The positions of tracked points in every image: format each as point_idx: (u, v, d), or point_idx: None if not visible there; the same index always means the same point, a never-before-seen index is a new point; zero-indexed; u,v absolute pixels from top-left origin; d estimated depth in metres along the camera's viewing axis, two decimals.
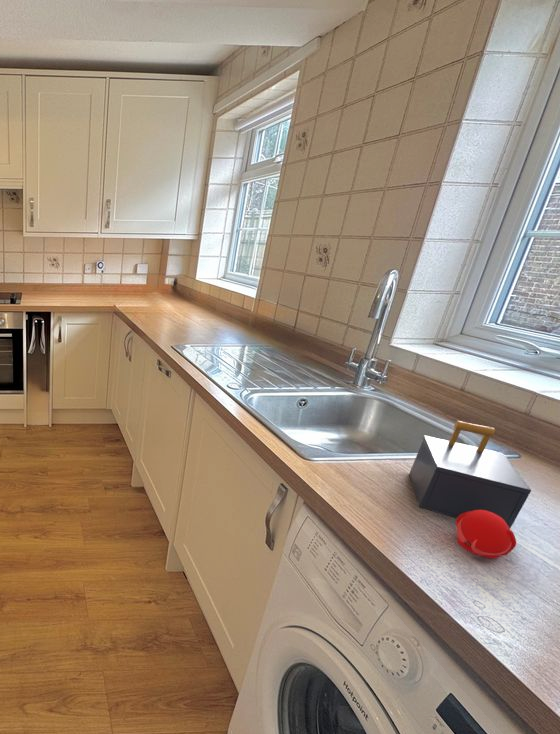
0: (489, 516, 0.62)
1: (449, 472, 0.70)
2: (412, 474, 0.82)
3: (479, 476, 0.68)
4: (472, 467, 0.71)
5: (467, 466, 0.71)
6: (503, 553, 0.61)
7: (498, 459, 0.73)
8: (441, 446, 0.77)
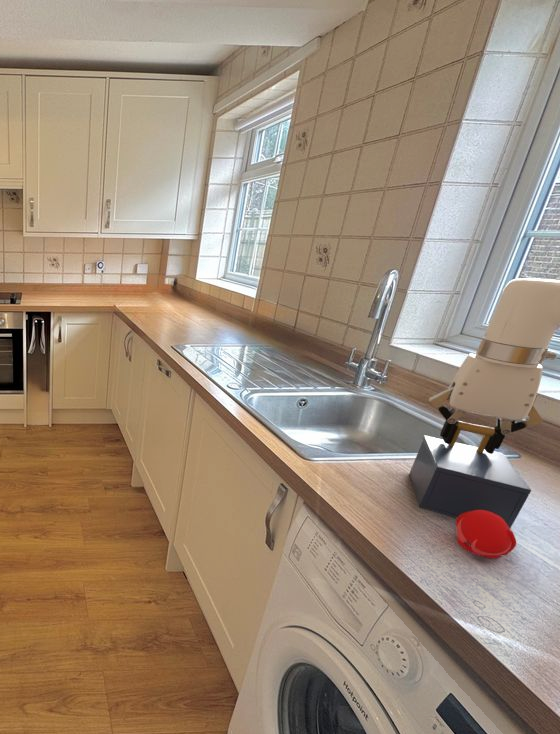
0: (489, 516, 0.62)
1: (449, 472, 0.70)
2: (412, 474, 0.82)
3: (479, 476, 0.68)
4: (472, 467, 0.71)
5: (467, 466, 0.71)
6: (503, 553, 0.61)
7: (498, 459, 0.73)
8: (441, 446, 0.77)
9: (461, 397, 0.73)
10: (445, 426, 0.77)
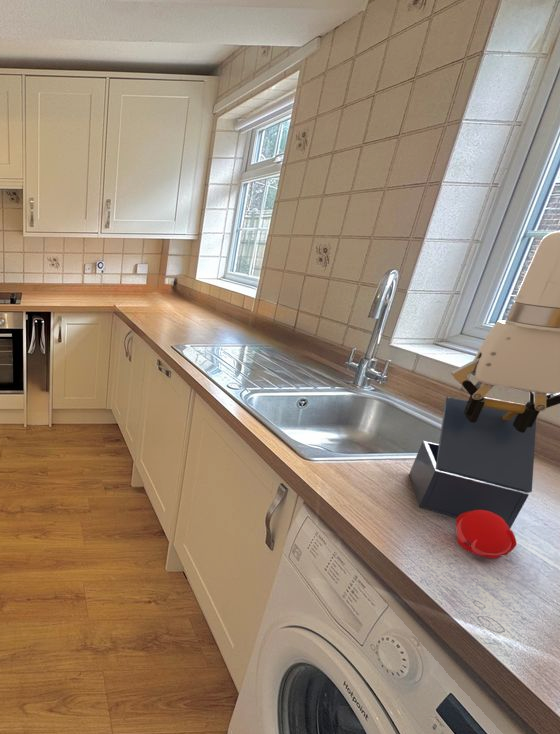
0: (489, 516, 0.62)
1: (449, 472, 0.70)
2: (412, 474, 0.82)
3: (480, 476, 0.68)
4: (480, 458, 0.69)
5: (474, 458, 0.69)
6: (503, 553, 0.61)
7: None
8: (459, 418, 0.72)
9: (489, 369, 0.65)
10: (469, 403, 0.69)
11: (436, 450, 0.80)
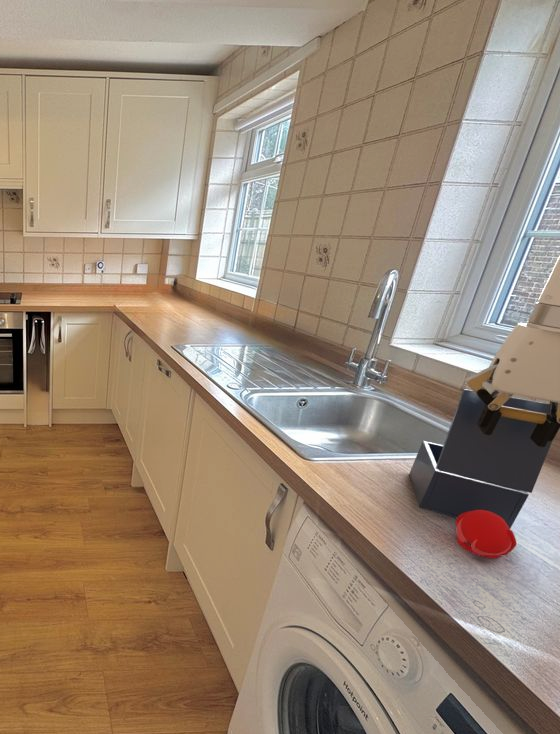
0: (489, 516, 0.62)
1: (449, 471, 0.70)
2: (412, 474, 0.82)
3: (480, 478, 0.67)
4: (485, 459, 0.67)
5: (479, 459, 0.67)
6: (503, 553, 0.61)
7: None
8: (473, 415, 0.67)
9: (508, 376, 0.59)
10: (484, 413, 0.63)
11: (436, 450, 0.80)
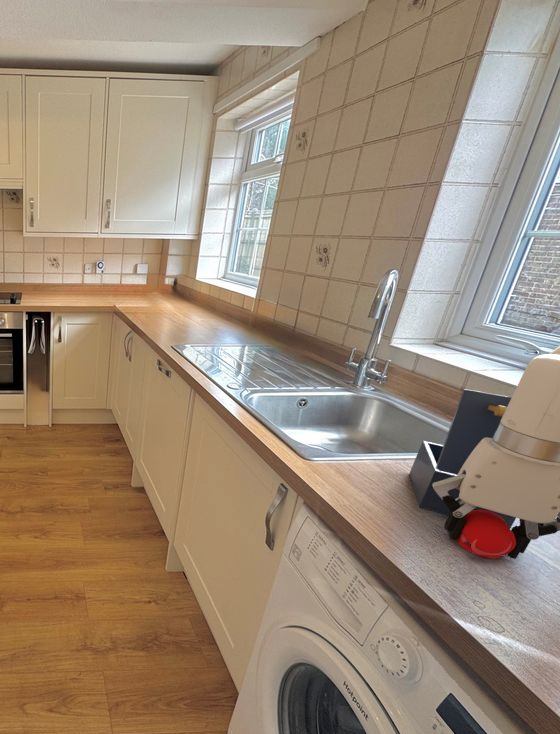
0: (489, 516, 0.62)
1: (449, 471, 0.70)
2: (412, 474, 0.82)
3: None
4: None
5: None
6: (503, 553, 0.61)
7: None
8: (473, 415, 0.67)
9: (473, 491, 0.61)
10: (450, 518, 0.65)
11: (436, 450, 0.80)
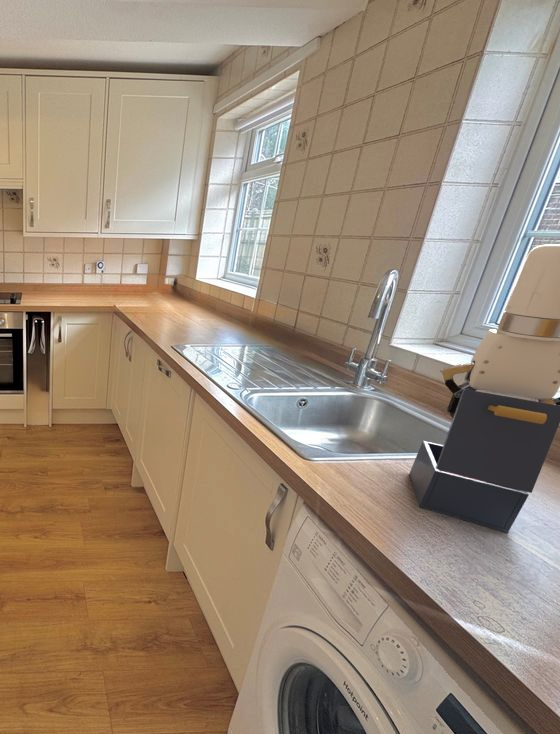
0: None
1: (449, 471, 0.70)
2: (412, 474, 0.82)
3: (480, 478, 0.67)
4: (485, 459, 0.67)
5: (479, 459, 0.67)
6: None
7: (541, 428, 0.63)
8: (473, 415, 0.67)
9: (482, 376, 0.68)
10: (452, 401, 0.72)
11: (436, 450, 0.80)
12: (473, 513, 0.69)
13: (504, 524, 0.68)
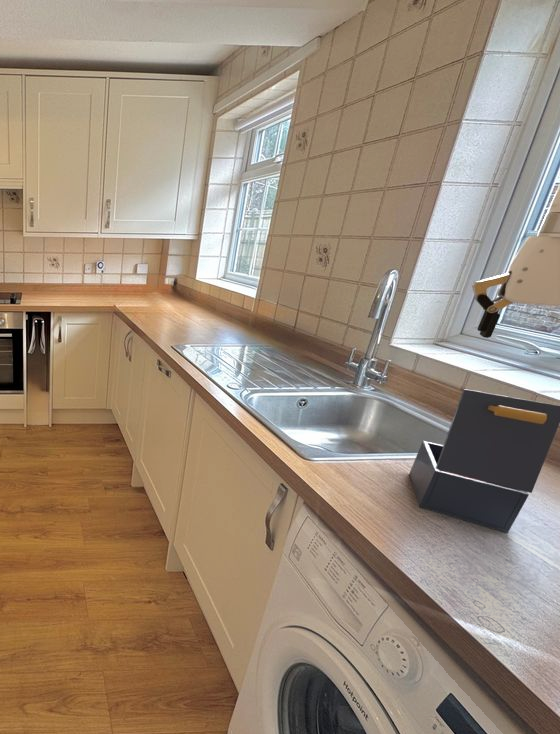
0: None
1: (449, 471, 0.70)
2: (412, 474, 0.82)
3: (480, 478, 0.67)
4: (485, 459, 0.67)
5: (479, 459, 0.67)
6: None
7: (541, 428, 0.63)
8: (473, 415, 0.67)
9: (520, 286, 0.63)
10: (484, 318, 0.67)
11: (436, 450, 0.80)
12: (473, 513, 0.69)
13: (504, 524, 0.68)
